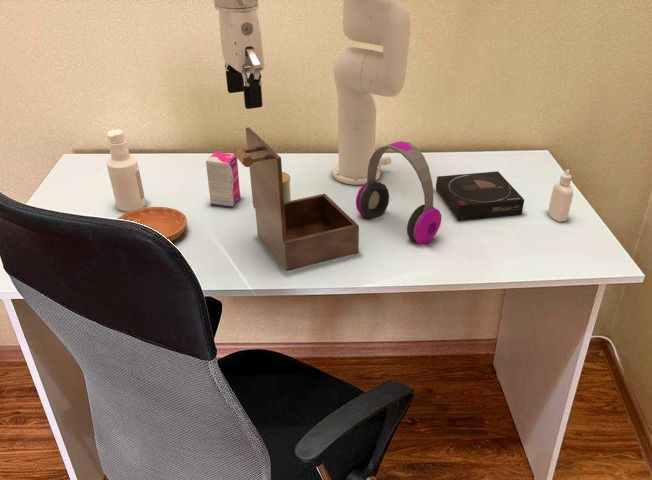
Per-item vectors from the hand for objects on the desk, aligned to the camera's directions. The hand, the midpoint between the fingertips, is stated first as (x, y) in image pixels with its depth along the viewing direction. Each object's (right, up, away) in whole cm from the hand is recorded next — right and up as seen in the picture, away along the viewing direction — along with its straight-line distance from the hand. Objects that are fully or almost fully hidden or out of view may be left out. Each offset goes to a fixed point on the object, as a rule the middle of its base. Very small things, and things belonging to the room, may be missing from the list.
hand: (244, 99), depth 124 cm
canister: (+2, -15, +33) cm, 36 cm away
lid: (+3, -14, +8) cm, 16 cm away
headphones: (+30, -19, +29) cm, 46 cm away
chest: (+10, -24, +22) cm, 34 cm away
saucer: (-26, -21, +25) cm, 41 cm away
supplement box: (-12, -11, +38) cm, 41 cm away
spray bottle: (-34, -12, +35) cm, 51 cm away
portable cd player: (+50, -10, +41) cm, 66 cm away
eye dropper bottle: (+69, -15, +36) cm, 79 cm away
